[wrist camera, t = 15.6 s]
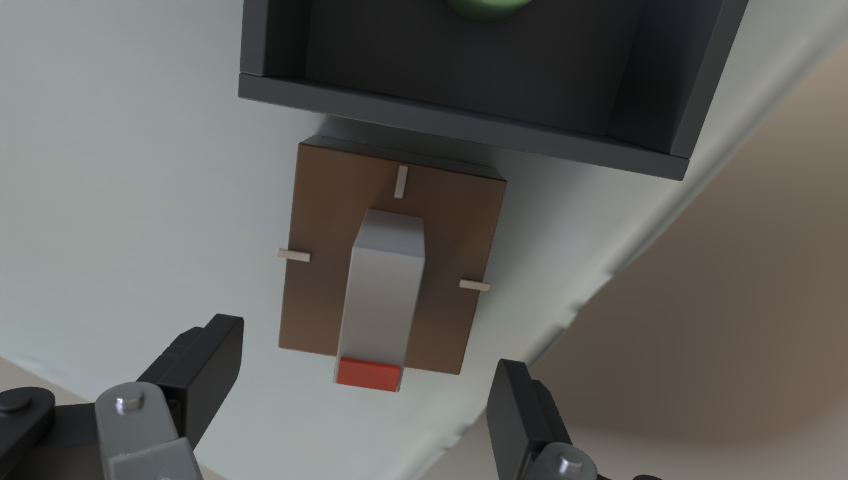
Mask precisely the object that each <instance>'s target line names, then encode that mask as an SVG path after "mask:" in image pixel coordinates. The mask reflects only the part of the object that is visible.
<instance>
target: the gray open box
mask: <svg viewBox="0 0 848 480" xmlns="http://www.w3.org/2000/svg"><path fill="white" fill-rule="evenodd" d="M748 1H749V0H532V1H530V2H529V3H527V4H526V5H524V6H523V7H522V8H520V9H519V10H517V11H516V12H514V13H513V14H511V15H510V16H508V17H506V18H503V19H501V20H498V21H493V22H476V21H472V20H469V19H467V18H464V17H462V16H461V15H459V14H458V13H456V12H455V11H454V10H453V9H452V8H451V7H450V6H449V5H448V4H447V2H446V1H445V0H244V4H243V21H242V39H241V57H240V72H241V73H240V74H239V89H238V97H239V98H242V99H248V100H253V101H258V102H264V103H269V104H274V105H280V106H285V107H290V108H296V109H301V110H306V111H311V112H317V113H322V114H327V115H333V116H338V117H343V118H349V119H354V120H359V121H365V122H370V123H375V124H380V125H386V126H391V127H396V128H402V129H407V130H412V131H418V132H423V133H428V134H434V135H439V136H444V137H450V138H455V139H460V140H465V141H471V142H476V143H481V144H487V145H492V146H497V147H503V148H508V149H513V150H519V151H524V152H529V153H534V154H540V155H545V156H550V157H556V158H561V159H566V160H572V161H577V162H582V163H588V164H593V165H598V166H604V167H609V168H614V169H619V170H625V171H630V172H635V173H641V174H646V175H651V176H657V177H662V178H667V179H673V180H678V181H682V180H683V178H684V175H685V172H686V170H687V167H688V164H689V162H690V160H689V158H691V156H692V153H693V150H694V148H695V145H696V142H697V139H698V137H699V134H700V131H701V128H702V126H703V123H704V120H705V118H706V115H707V112H708V109H709V107H710V104H711V101H712V99H713V96H714V93H715V90H716V88H717V85H718V82H719V80H720V77H721V74H722V71H723V69H724V66H725V63H726V60H727V58H728V55H729V52H730V50H731V47H732V44H733V41H734V39H735V36H736V33H737V31H738V28H739V25H740V22H741V20H742V17H743V14H744V11H745V9H746V6H747V3H748Z"/></svg>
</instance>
